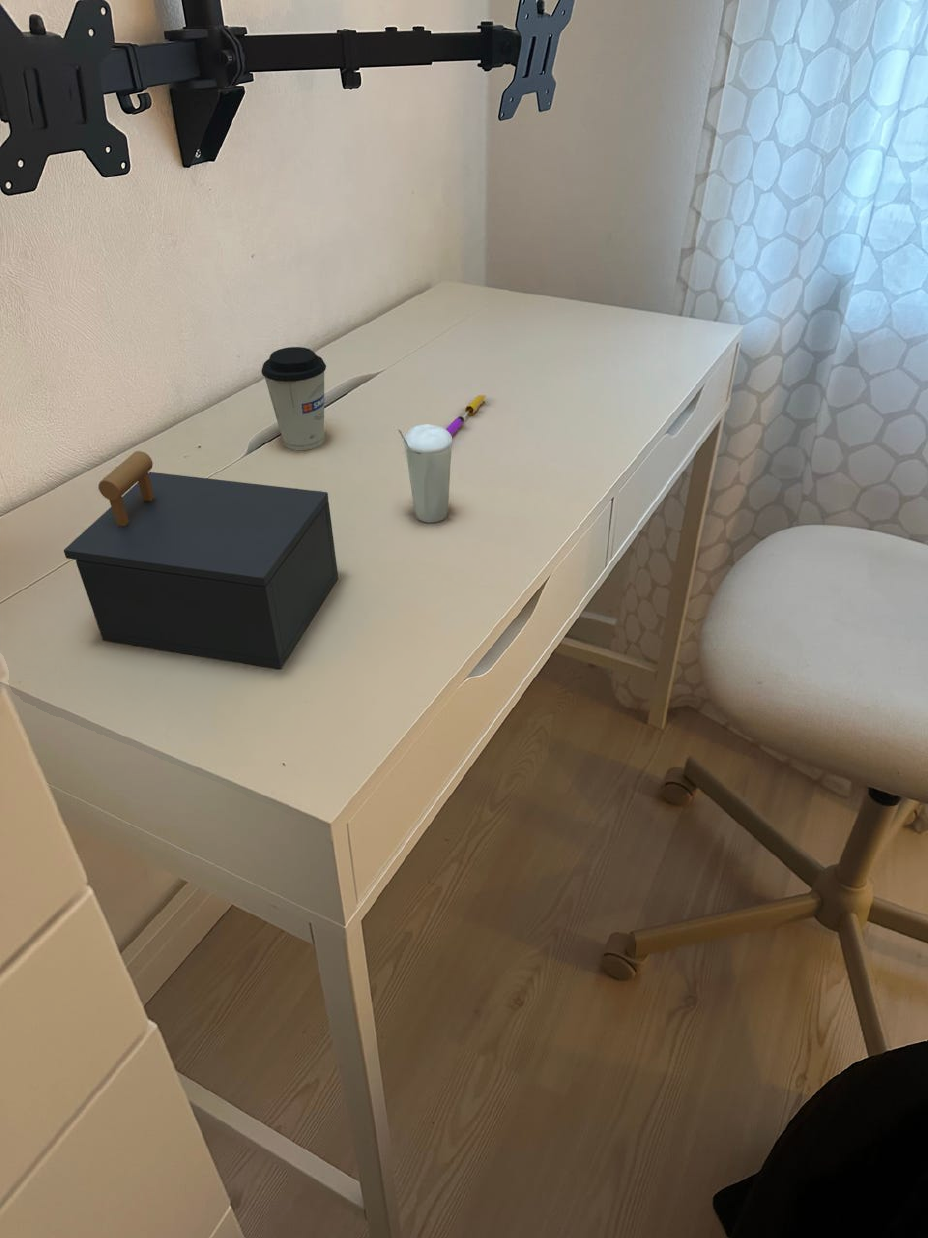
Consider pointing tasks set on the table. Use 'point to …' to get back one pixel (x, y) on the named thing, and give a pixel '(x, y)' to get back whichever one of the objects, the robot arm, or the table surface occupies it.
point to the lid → (195, 524)
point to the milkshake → (429, 470)
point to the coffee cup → (297, 395)
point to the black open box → (217, 604)
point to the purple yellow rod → (469, 410)
